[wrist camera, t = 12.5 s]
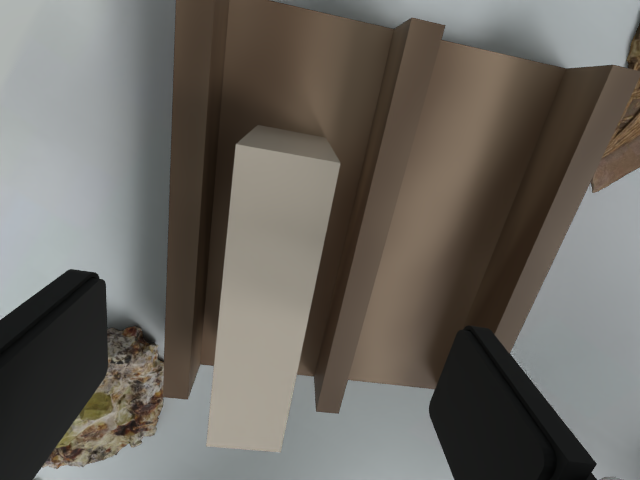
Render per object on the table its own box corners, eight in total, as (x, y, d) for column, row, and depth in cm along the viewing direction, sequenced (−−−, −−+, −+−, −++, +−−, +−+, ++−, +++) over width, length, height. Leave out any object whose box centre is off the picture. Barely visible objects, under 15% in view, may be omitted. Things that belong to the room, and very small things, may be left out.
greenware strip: (326, 137, 16) (340, 162, 10) (285, 353, 20) (280, 452, 15) (257, 124, 16) (235, 144, 10) (231, 348, 20) (206, 446, 15)
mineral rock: (120, 497, 23) (-38, 487, 19) (130, 432, 27) (-2, 413, 22) (210, 383, 20) (49, 344, 16) (207, 330, 24) (75, 286, 20)
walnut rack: (572, 75, 17) (642, 71, 13) (449, 377, 23) (475, 426, 20) (205, -9, 15) (177, -38, 11) (184, 347, 21) (162, 397, 18)
